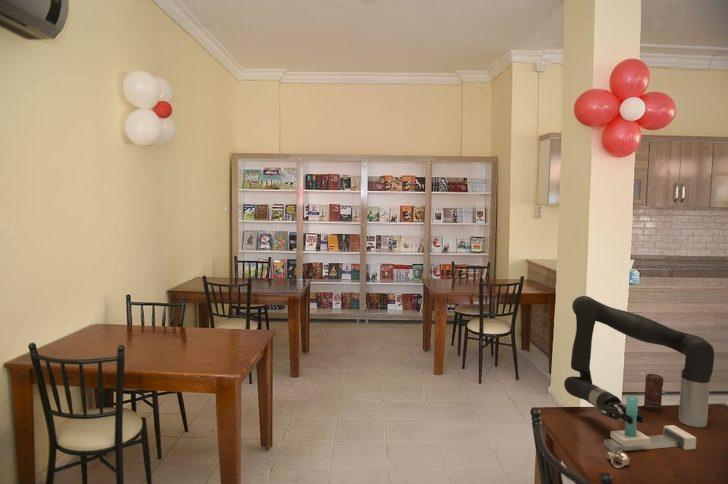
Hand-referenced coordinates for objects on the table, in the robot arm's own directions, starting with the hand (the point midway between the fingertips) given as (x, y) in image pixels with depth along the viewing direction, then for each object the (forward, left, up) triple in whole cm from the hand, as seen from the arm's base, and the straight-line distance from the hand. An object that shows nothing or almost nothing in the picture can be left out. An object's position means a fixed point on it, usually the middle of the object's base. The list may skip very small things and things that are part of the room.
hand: (637, 420), depth 174 cm
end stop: (-12, +16, -11) cm, 23 cm away
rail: (-5, +2, -11) cm, 12 cm away
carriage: (-2, -1, -8) cm, 9 cm away
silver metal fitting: (+11, -7, -11) cm, 17 cm away
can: (-42, +13, -11) cm, 45 cm away
